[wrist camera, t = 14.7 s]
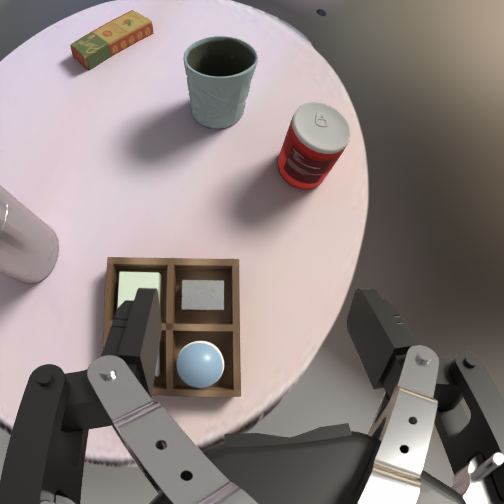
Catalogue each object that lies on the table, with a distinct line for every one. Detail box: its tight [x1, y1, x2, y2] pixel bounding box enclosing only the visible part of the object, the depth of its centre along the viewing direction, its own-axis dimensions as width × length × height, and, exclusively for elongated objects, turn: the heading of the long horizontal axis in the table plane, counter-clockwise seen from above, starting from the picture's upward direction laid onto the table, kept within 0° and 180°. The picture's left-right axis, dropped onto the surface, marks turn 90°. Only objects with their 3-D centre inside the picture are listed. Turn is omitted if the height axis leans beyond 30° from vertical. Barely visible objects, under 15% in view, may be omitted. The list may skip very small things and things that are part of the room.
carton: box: [70, 10, 154, 70], centre depth 50 cm, size 8×16×4 cm, turn 135°
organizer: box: [103, 257, 241, 397], centre depth 38 cm, size 16×16×4 cm
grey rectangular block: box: [182, 280, 224, 312], centre depth 39 cm, size 5×4×2 cm
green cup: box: [184, 36, 258, 129], centre depth 43 cm, size 10×10×12 cm
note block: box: [118, 272, 163, 316], centre depth 38 cm, size 5×5×3 cm
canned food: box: [278, 102, 351, 189], centre depth 42 cm, size 8×8×11 cm
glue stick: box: [177, 341, 224, 388], centre depth 34 cm, size 5×5×10 cm
